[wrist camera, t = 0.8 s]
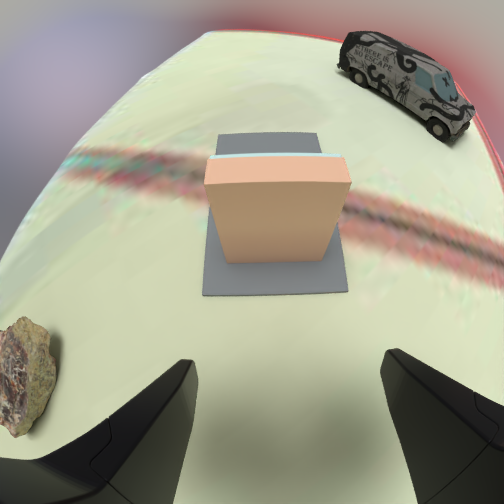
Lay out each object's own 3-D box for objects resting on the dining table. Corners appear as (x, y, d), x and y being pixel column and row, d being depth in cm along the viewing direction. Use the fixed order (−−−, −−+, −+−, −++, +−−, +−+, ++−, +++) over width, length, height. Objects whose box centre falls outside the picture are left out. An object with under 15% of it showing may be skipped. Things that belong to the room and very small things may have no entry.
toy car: (449, 151, 30) (475, 101, 21) (333, 74, 40) (338, 27, 31) (466, 134, 33) (487, 93, 24) (365, 66, 42) (372, 27, 33)
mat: (347, 292, 22) (348, 290, 21) (202, 295, 22) (202, 294, 22) (315, 134, 31) (316, 132, 30) (218, 136, 31) (218, 134, 31)
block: (321, 261, 23) (351, 182, 14) (227, 263, 23) (203, 184, 14) (318, 236, 24) (342, 152, 15) (228, 238, 24) (208, 154, 15)
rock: (26, 305, 16) (-34, 320, 13) (47, 446, 11) (-22, 436, 8) (65, 329, 22) (4, 340, 20) (86, 438, 17) (19, 436, 14)
